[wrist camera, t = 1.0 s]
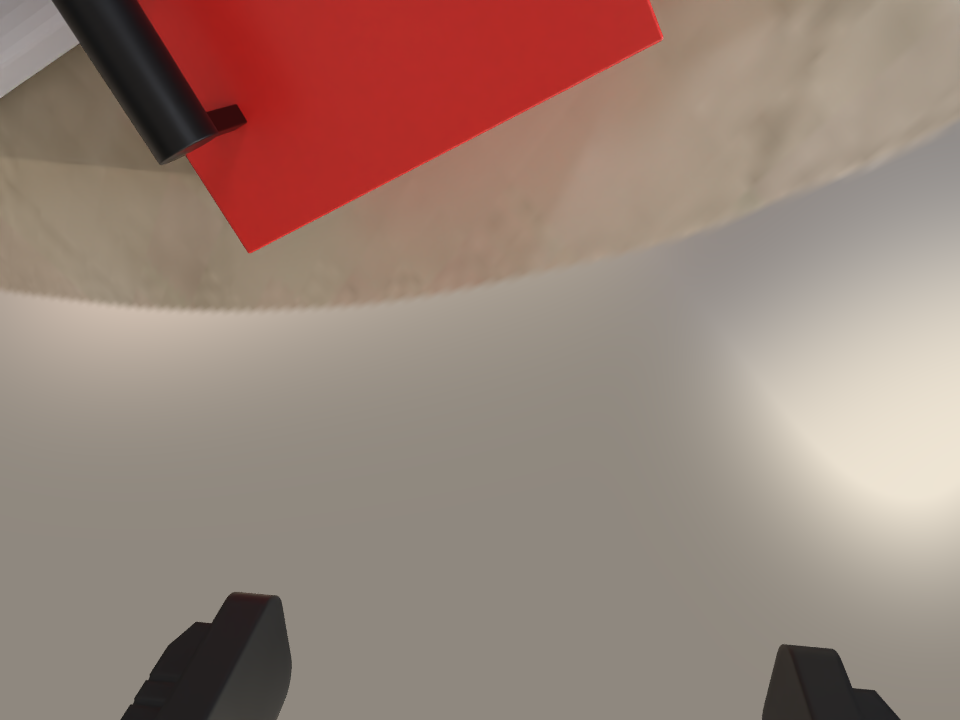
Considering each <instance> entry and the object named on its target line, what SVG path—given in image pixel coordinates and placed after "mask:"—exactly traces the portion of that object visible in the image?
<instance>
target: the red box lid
mask: <svg viewBox="0 0 960 720" xmlns="http://www.w3.org/2000/svg"><path fill="white" fill-rule="evenodd" d="M52 2H53V3H54V5H55V6H56V8H57V9H58V11H59V13H60V14H61V16H62V17H63V19H64V20H65V22H66V23H67V25H68V26H69V28H70V29H71V31H72V32H73V34H74V35H75V37H76V38H77V40H78V41H79V43H80V44H81V46H82V47H83V49H84V51H85V52H86V54H87V55H88V57H89V58H90V60H91V61H92V63H93V64H94V66H95V67H96V69H97V70H98V72H99V73H100V75H101V76H102V78H103V79H104V81H105V82H106V84H107V85H108V87H109V89H110V90H111V92H112V93H113V95H114V96H115V98H116V99H117V101H118V102H119V104H120V105H121V107H122V108H123V110H124V111H125V113H126V114H127V116H128V117H129V119H130V120H131V122H132V123H133V125H134V127H135V128H136V130H137V131H138V133H139V134H140V136H141V137H142V139H143V140H144V142H145V143H146V145H147V146H148V148H149V149H150V151H151V152H152V154H153V155H154V157H155V158H156V160H157V161H158V163H159V164H160V165H163V164H166V163H169V162H171V161H173V160H176V159H178V158H180V157H182V156H184V155H186V157H187V158H188V160H189V162H190V163H191V165H192V166H193V168H194V169H195V171H196V172H197V174H198V176H199V177H200V179H201V180H202V182H203V183H204V185H205V186H206V188H207V190H208V191H209V193H210V194H211V196H212V197H213V199H214V200H215V202H216V204H217V205H218V207H219V208H220V210H221V211H222V213H223V215H224V216H225V218H226V219H227V221H228V222H229V224H230V225H231V227H232V229H233V230H234V232H235V233H236V235H237V236H238V238H239V239H240V241H241V243H242V244H243V246H244V247H245V249H246V250H247V252H248V253H252V252H254V251H256V250H258V249H260V248H262V247H264V246H266V245H268V244H270V243H271V242H273V241H275V240H277V239H279V238H281V237H283V236H285V235H287V234H289V233H291V232H293V231H295V230H297V229H298V228H300V227H302V226H304V225H306V224H308V223H310V222H312V221H314V220H316V219H318V218H320V217H322V216H324V215H326V214H327V213H329V212H331V211H333V210H335V209H337V208H339V207H341V206H343V205H345V204H347V203H349V202H351V201H353V200H355V199H356V198H358V197H360V196H362V195H364V194H366V193H368V192H370V191H372V190H374V189H376V188H378V187H380V186H382V185H384V184H385V183H387V182H389V181H391V180H393V179H395V178H397V177H399V176H401V175H403V174H405V173H407V172H409V171H411V170H412V169H414V168H416V167H418V166H420V165H422V164H424V163H426V162H428V161H430V160H432V159H434V158H436V157H438V156H440V155H441V154H443V153H445V152H447V151H449V150H451V149H453V148H455V147H457V146H459V145H461V144H463V143H465V142H467V141H469V140H470V139H472V138H474V137H476V136H478V135H480V134H482V133H484V132H486V131H488V130H490V129H492V128H494V127H496V126H498V125H499V124H501V123H503V122H505V121H507V120H509V119H511V118H513V117H515V116H517V115H519V114H521V113H523V112H525V111H527V110H528V109H530V108H532V107H534V106H536V105H538V104H540V103H542V102H544V101H546V100H548V99H550V98H552V97H554V96H555V95H557V94H559V93H561V92H563V91H565V90H567V89H569V88H571V87H573V86H575V85H577V84H579V83H581V82H583V81H584V80H586V79H588V78H590V77H592V76H594V75H596V74H598V73H600V72H602V71H604V70H606V69H608V68H610V67H612V66H613V65H615V64H617V63H619V62H621V61H623V60H625V59H627V58H629V57H631V56H633V55H635V54H637V53H639V52H641V51H642V50H644V49H646V48H648V47H650V46H652V45H654V44H656V43H658V42H660V41H661V40H662V39H663V35H662V32H661V30H660V27H659V24H658V22H657V19H656V16H655V14H654V11H653V8H652V6H651V3H650V0H52Z"/></svg>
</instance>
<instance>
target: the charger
mask: <svg viewBox="0 0 960 720" xmlns="http://www.w3.org/2000/svg"><path fill="white" fill-rule="evenodd" d="M78 44H79V41H78V40H77V38H76V37H75V35H74V34H73V32H72V31H71V29H70V28H69V26H68V25H67V23H66V22H65V20H64V19H63V17H62V16H61V14H60V13H59V11H58V9H57V8H56V6H55V5H54V3H53V2H52V0H0V98H1V97H3V96H4V95H5V94H7V93H8V92H10V91H11V90H13V89H14V88H16V87H17V86H18V85H20V84H21V83H23V82H24V81H26V80H27V79H29V78H30V77H31V76H33V75H34V74H36V73H37V72H39V71H40V70H42V69H43V68H44V67H46V66H47V65H49V64H50V63H52V62H53V61H55V60H56V59H57V58H59V57H60V56H62V55H63V54H65V53H66V52H68V51H69V50H70V49H72V48H73V47H75V46H76V45H78Z"/></svg>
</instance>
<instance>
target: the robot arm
mask: <svg viewBox="0 0 960 720" xmlns="http://www.w3.org/2000/svg"><path fill="white" fill-rule="evenodd" d="M291 669H292V661H291V654H290V648H289V642H288V636H287V630H286V624H285V618H284V613H283V607H282V602H281V599H280V598H279V597H278V596H275V595H264V594H253V593H243V592H233V593H231V594H230V595H229V596H228V597H227V599H226V600H225V602H224V603H223V605H222V607H221V609H220V610H219V612H218V614H217V615H216V617H215V619H214V620H213V622H212V623H203V622H195V623H194V624H193V625H192V626H191V627H190V628H188V629H187V630H186V631H185V632H184V633H182V634H181V635H180V636H179V637H178V638H177V639H175V640H174V641H173V642H172V643H171V644H170V645H168V647H167V648H166V650H165V651H164V653H163V654H162V656H161V658H160V659H159V661H158V662H157V664H156V665H155V667H154V669H153V670H152V672H151V673H150V678H149V680H146V681H145V683H144V684H143V686H142V687H141V689H140V690H139V692H138V694H137V695H136V697H135V698H134V703H133V705H130V706H129V707H128V709H127V711H126V712H125V714H124V715H123V717H122V718H121V720H276V719H277V717H278V715H279V713H280V710H281V708H282V705H283V703H284V701H285V698H286V695H287V692H288V688H289V684H290V678H291ZM762 720H900V719H899V717H898V716H897V715H896V714H895V713H894V712H893V711H892V709H891V708H890V707H889V706H888V705H887V704H886V703H885V701H883V699H882V698H881V697H880V696H879V695H878V694H877V692H876V691H875V690H866V689H855V688H852V686H851V683H850V681H849V678H848V676H847V673H846V671H845V668H844V666H843V663H842V661H841V658H840V656H839V655H838V653H837V652H836V651H835V650H833V649H828V648H818V647H806V646H796V645H784V644H782V645H781V646H780V647H779V649H778V652H777V656H776V660H775V664H774V668H773V672H772V676H771V680H770V684H769V688H768V692H767V696H766V700H765V704H764V708H763V714H762Z"/></svg>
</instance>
